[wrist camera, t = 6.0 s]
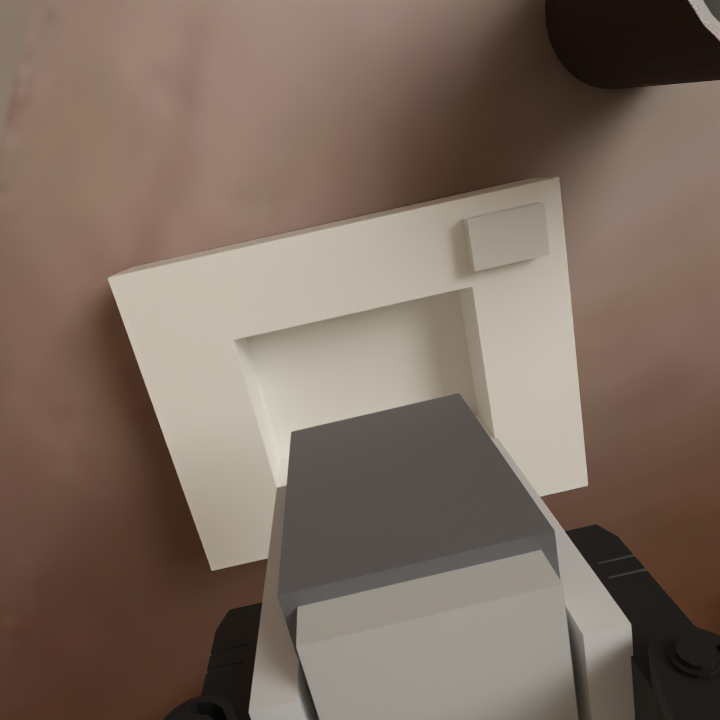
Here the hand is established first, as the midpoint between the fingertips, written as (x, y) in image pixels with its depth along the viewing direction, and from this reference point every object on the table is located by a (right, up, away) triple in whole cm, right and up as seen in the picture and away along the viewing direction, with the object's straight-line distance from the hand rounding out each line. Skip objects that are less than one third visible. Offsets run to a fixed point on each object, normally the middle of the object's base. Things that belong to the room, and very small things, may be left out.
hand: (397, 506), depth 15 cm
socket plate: (-1, +3, +12) cm, 12 cm away
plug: (0, 0, 0) cm, 0 cm away
